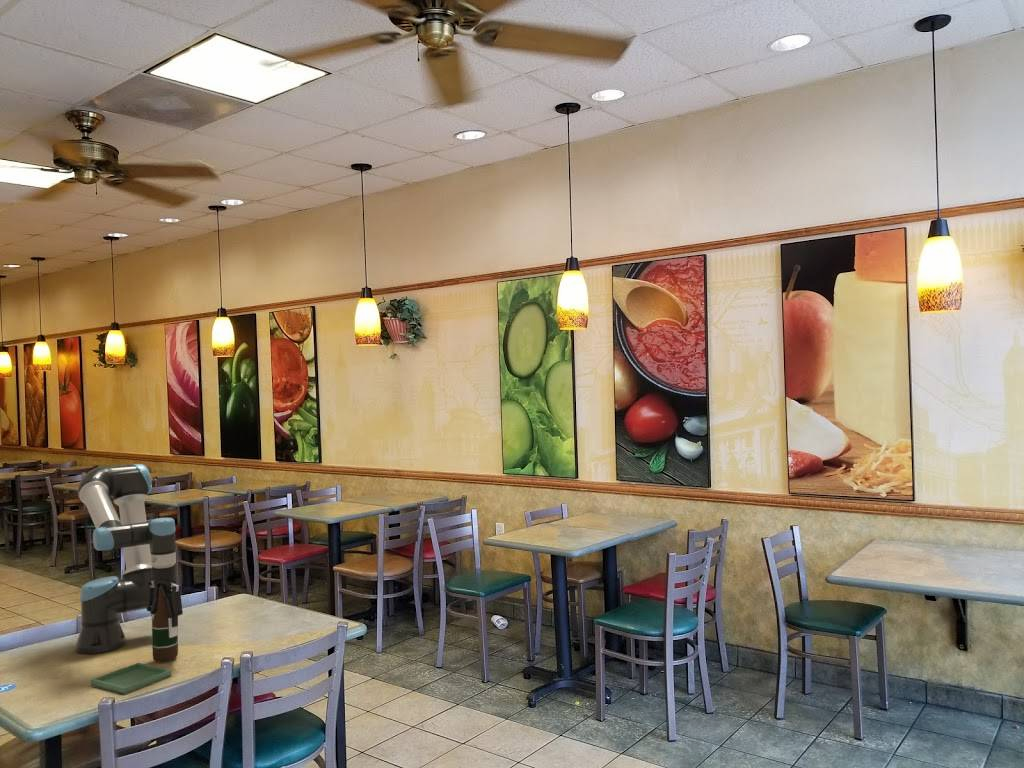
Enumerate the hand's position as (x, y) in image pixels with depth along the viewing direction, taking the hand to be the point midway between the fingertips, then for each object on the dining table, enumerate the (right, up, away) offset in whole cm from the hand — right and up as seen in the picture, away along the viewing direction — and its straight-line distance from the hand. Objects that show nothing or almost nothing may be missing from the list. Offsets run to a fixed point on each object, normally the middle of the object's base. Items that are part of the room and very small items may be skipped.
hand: (165, 634), depth 257 cm
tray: (-2, -8, -18) cm, 20 cm away
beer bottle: (0, -8, 0) cm, 8 cm away
